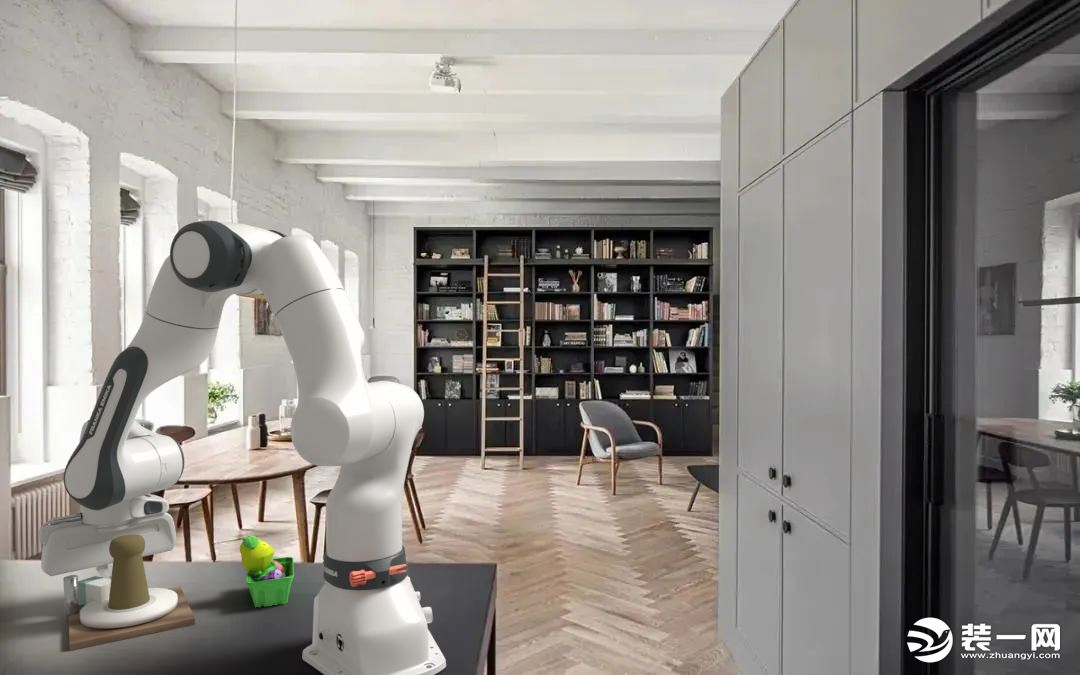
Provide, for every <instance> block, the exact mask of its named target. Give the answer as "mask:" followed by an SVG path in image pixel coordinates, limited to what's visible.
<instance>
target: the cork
mask: <svg viewBox="0 0 1080 675" xmlns="http://www.w3.org/2000/svg"><path fill="white" fill-rule="evenodd" d="M144 549H145V540H144V538H143V537H142V536H141V535H138V534H128V535H122V536H119V537H116V538H115V539H113V540H112V541H111V543H110V546H109V552H110V555H111V556H112V557H113V558H114V559H113V563H112V567H111V568H112V570H111V576H112V577H111V586H110V595H109V603H108V607H109V608H110V609H114V610H122V609H130V608H134V607H138V606H141V605H144V604H145V603H147V602H148V601H149V600H150V596H149V591H148V588H149V585H148V581H147V575H146V570H145V564H144V560H143V557H142V553H143V552H144Z"/></svg>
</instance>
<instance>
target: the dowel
mask: <svg viewBox="0 0 1080 675" xmlns="http://www.w3.org/2000/svg"><path fill="white" fill-rule="evenodd" d="M78 581H79V576H78V575H77V574H70V575H66V576H64V577H63V582H62V583H63V609H64V614H63V615H64V622H65V623H69V616H71V615H75V614H78V613H79V605H80V604H79V599H78Z"/></svg>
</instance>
